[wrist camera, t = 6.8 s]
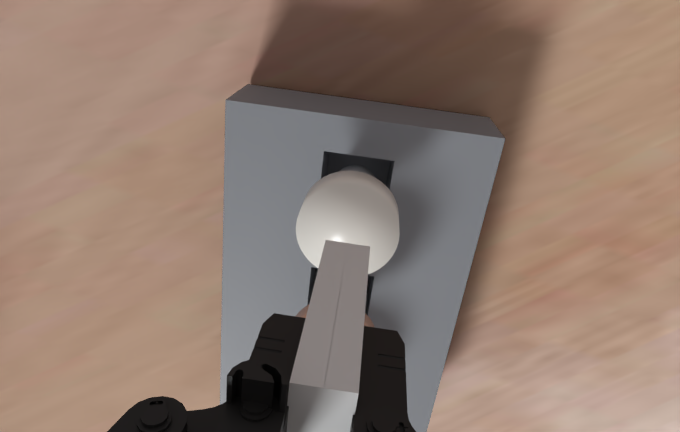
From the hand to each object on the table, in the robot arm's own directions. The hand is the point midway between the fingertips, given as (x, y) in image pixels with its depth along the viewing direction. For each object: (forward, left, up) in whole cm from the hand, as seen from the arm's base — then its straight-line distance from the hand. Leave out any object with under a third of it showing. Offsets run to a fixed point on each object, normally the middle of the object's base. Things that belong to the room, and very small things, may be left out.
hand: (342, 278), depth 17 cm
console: (0, -7, -12) cm, 14 cm away
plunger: (0, 0, -9) cm, 9 cm away
